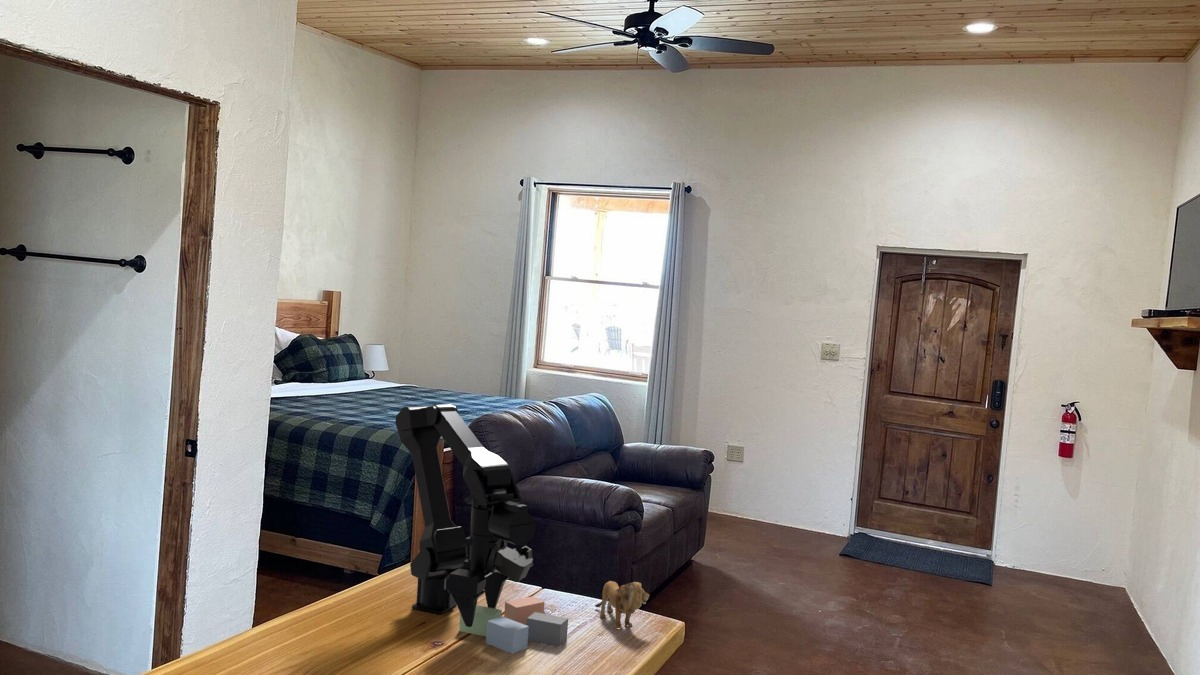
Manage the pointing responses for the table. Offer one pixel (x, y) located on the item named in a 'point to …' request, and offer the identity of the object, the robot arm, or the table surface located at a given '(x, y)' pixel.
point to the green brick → (480, 620)
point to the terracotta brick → (523, 609)
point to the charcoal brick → (547, 629)
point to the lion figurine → (622, 600)
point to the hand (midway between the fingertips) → (480, 618)
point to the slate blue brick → (507, 634)
